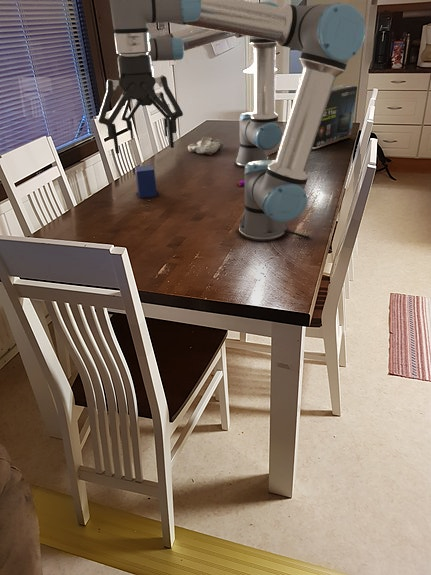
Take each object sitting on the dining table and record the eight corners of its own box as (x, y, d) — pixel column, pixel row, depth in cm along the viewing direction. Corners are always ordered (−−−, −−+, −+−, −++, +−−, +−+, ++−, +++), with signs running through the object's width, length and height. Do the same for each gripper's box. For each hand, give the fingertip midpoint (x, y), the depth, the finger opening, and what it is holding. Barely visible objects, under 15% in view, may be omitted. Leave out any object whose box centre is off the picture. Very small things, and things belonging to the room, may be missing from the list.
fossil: (211, 149, 226) (191, 129, 229) (201, 167, 233) (181, 148, 236) (230, 147, 240) (211, 129, 243) (220, 164, 247) (201, 146, 250)
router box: (314, 151, 231) (318, 94, 217) (296, 148, 237) (299, 92, 224) (352, 138, 251) (358, 85, 238) (335, 135, 258) (340, 83, 245)
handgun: (238, 184, 192) (238, 179, 191) (256, 182, 193) (256, 177, 192) (251, 201, 174) (250, 196, 173) (270, 198, 175) (270, 193, 174)
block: (137, 192, 187) (134, 166, 182) (154, 190, 189) (151, 164, 183) (139, 198, 182) (136, 171, 176) (156, 196, 183) (154, 169, 178)
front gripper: (77, 59, 98) (94, 158, 109) (191, 52, 103) (196, 147, 114) (77, 56, 104) (93, 150, 115) (184, 50, 109) (190, 141, 120)
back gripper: (110, 82, 167) (118, 141, 178) (178, 78, 172) (181, 136, 183) (109, 79, 173) (117, 137, 184) (174, 76, 178) (178, 132, 189)
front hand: (144, 149), depth 115 cm, fingers open, 13 cm apart
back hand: (149, 137), depth 184 cm, fingers open, 13 cm apart
